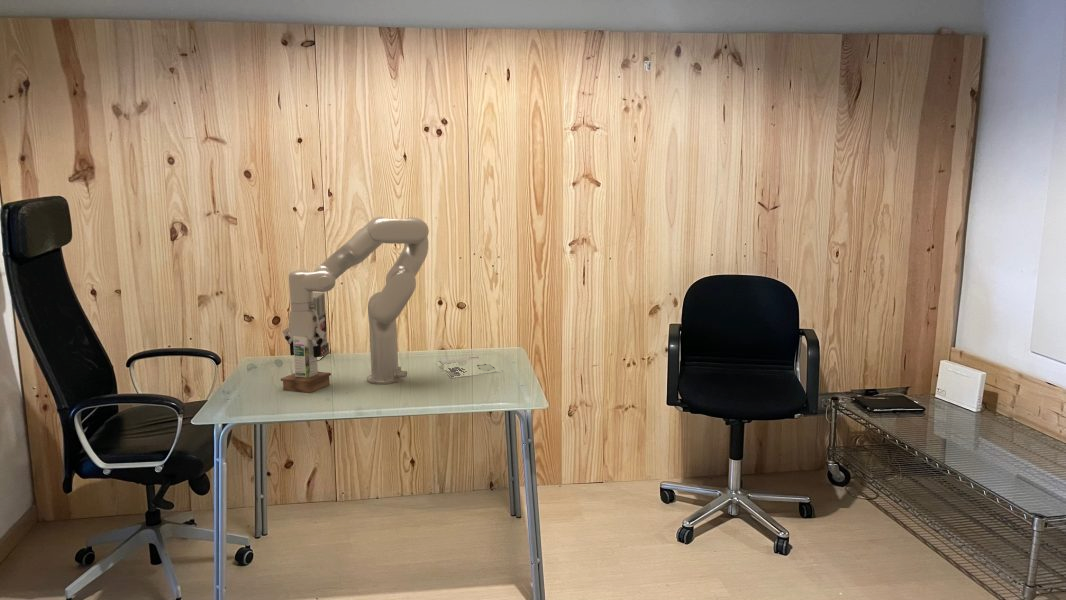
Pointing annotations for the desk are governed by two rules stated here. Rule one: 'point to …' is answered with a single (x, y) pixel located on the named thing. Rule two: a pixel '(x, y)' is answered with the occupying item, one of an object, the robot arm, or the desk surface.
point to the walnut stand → (306, 382)
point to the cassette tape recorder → (321, 319)
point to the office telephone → (453, 370)
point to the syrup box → (304, 357)
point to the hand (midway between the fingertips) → (305, 355)
